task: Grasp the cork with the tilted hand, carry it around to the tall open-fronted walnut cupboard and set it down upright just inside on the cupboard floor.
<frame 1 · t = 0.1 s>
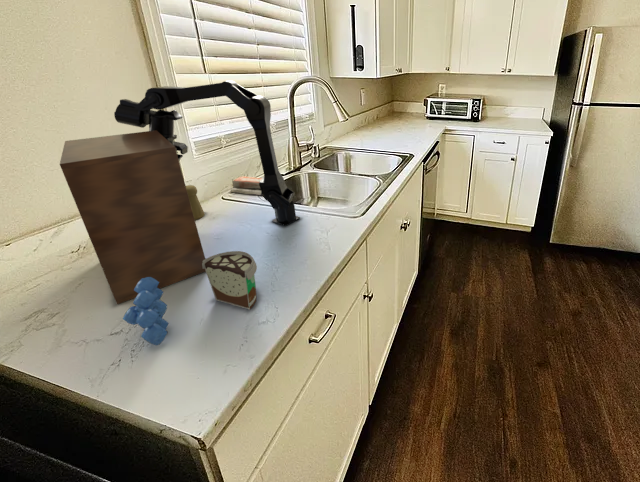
hand: (161, 180, 99), 16 cm above the worktop, tool tilted 15°, fingers open, 6 cm apart
cupboard: (157, 263, 85), on the worktop
packaged product: (256, 190, 134), on the worktop
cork: (194, 216, 111), on the worktop
grapes: (155, 336, 63), on the worktop
food container: (243, 296, 73), on the worktop
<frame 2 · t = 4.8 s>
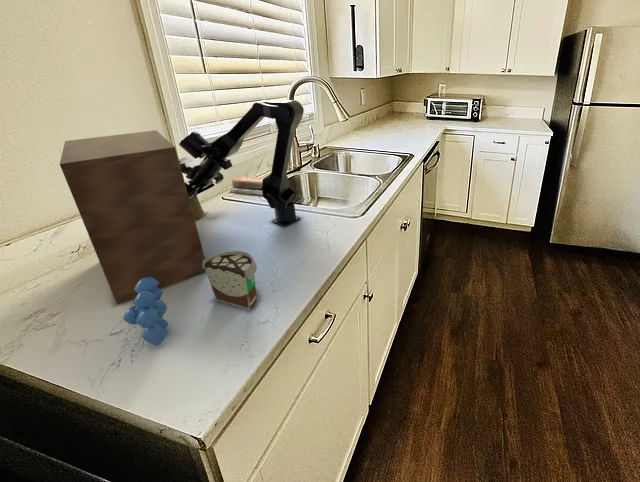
hand: (186, 198, 109), 7 cm above the worktop, tool tilted 45°, fingers closed on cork, 5 cm apart
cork: (194, 216, 111), on the worktop, touching gripper
everything else where it was.
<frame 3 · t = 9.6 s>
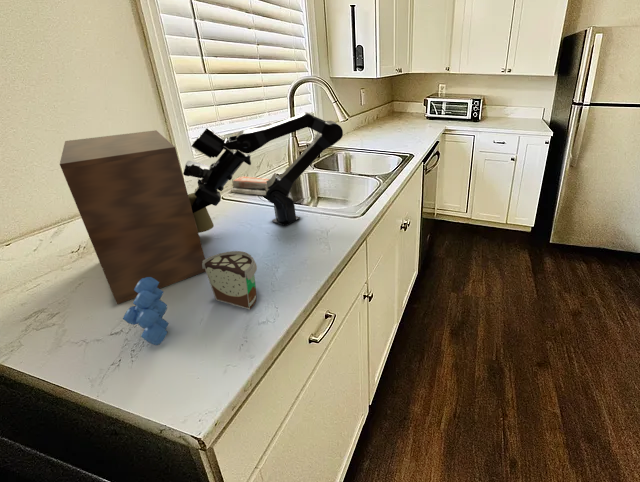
hand: (191, 209, 95), 9 cm above the worktop, tool tilted 45°, fingers closed on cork, 5 cm apart
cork: (202, 228, 98), point 3 cm above the worktop, touching gripper
everything else where it was.
when the fingers open (8 cm above the worktop, at t = 14.2 s): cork stays where it is, resting on cupboard.
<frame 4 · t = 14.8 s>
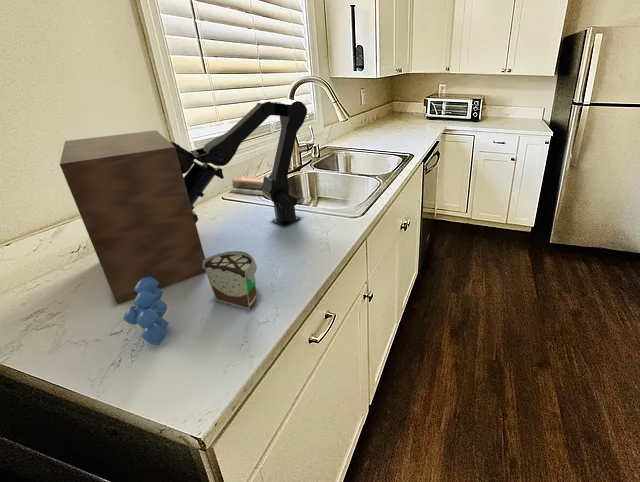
hand: (155, 234, 83), 8 cm above the worktop, tool tilted 45°, fingers open, 9 cm apart
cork: (171, 255, 87), point 1 cm above the worktop, touching cupboard
everything else where it was.
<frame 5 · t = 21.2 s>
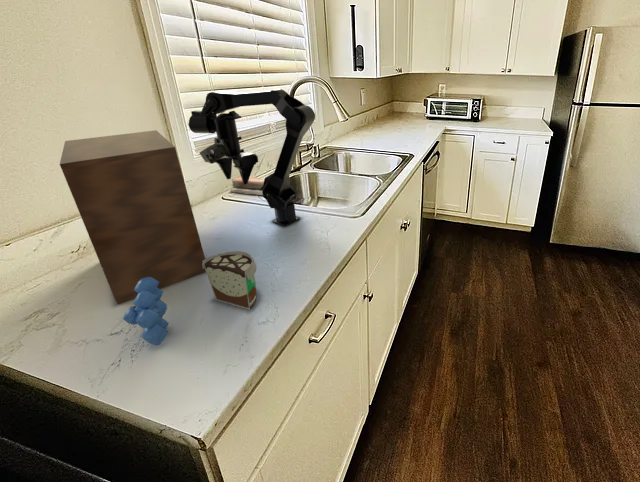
hand: (237, 181, 105), 13 cm above the worktop, tool pointing down, fingers open, 9 cm apart
nothing on the worktop moved.
at the end: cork 0.4 cm from the target spot on the cupboard, point 0.8 cm above the cupboard's base; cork tilted 0°; the gripper is holding nothing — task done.
